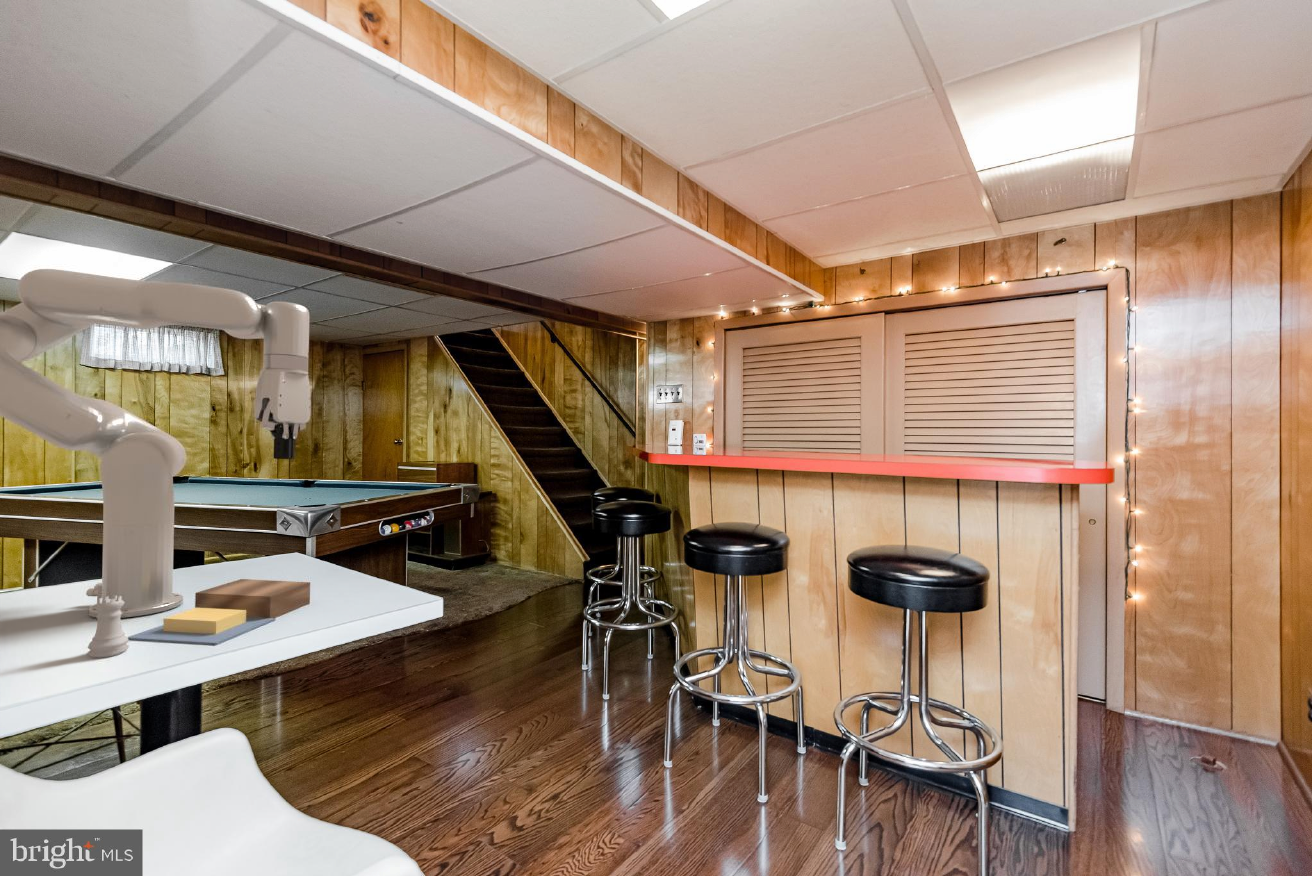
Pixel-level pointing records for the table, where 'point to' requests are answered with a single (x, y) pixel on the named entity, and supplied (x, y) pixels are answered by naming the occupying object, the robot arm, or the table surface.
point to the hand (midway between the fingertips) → (283, 458)
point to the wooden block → (256, 597)
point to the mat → (201, 638)
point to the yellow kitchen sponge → (204, 620)
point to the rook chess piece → (108, 629)
